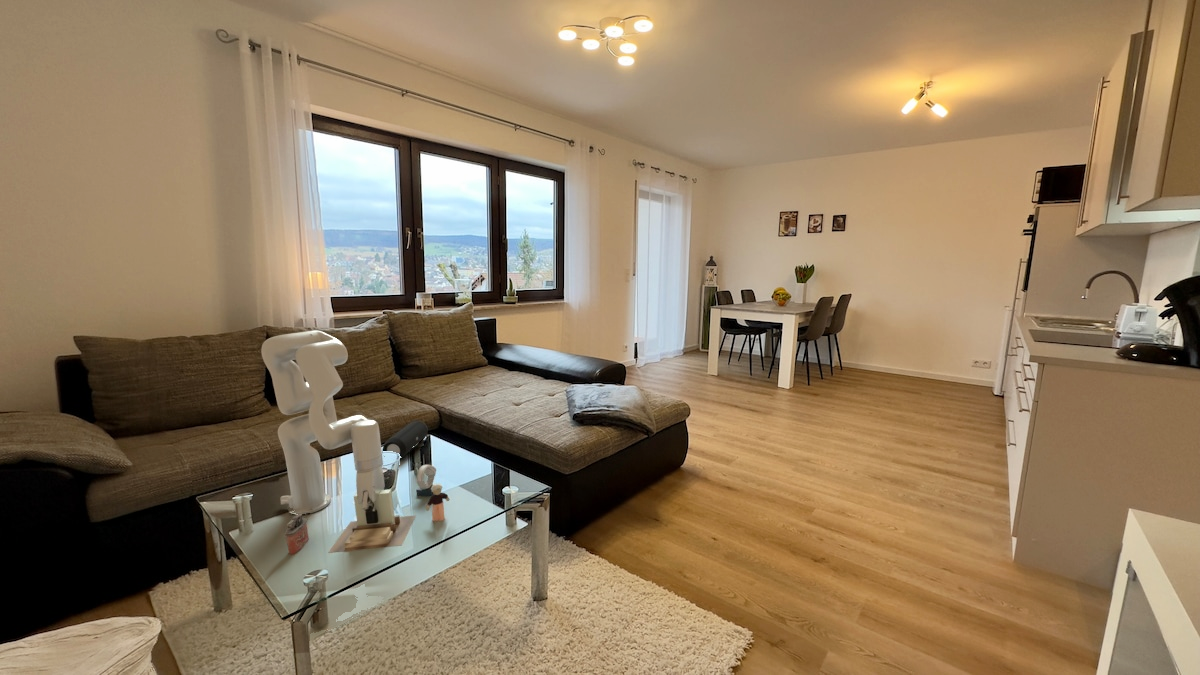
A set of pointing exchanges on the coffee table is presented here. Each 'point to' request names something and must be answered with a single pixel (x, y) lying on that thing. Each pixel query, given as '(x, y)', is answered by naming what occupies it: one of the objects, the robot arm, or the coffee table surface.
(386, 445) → the portable speaker
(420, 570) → the coffee table surface
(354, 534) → the upper birch offcut
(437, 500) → the grandmother figurine
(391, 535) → the lower birch offcut
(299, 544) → the lighter
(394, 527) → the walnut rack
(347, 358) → the robot arm
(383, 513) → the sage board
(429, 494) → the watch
